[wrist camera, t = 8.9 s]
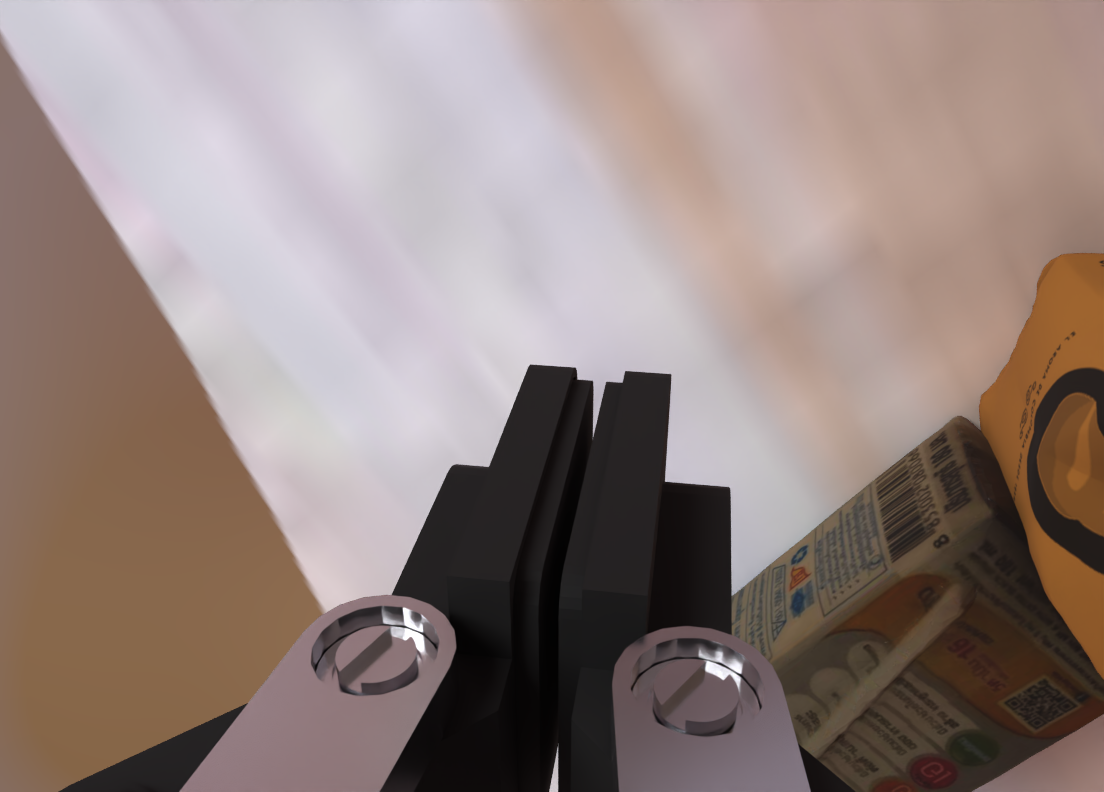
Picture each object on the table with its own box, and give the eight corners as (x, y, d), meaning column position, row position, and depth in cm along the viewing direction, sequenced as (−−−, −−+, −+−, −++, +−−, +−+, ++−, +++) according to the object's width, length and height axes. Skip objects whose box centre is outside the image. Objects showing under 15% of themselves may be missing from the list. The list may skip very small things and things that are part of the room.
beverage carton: (576, 704, 39) (549, 840, 33) (954, 392, 31) (1007, 500, 25) (722, 813, 40) (721, 963, 34) (1122, 541, 32) (1210, 677, 26)
